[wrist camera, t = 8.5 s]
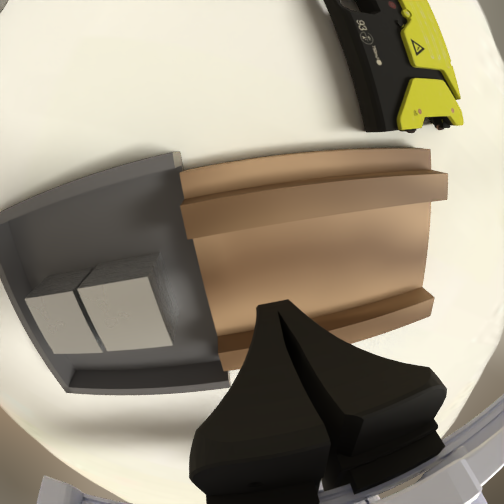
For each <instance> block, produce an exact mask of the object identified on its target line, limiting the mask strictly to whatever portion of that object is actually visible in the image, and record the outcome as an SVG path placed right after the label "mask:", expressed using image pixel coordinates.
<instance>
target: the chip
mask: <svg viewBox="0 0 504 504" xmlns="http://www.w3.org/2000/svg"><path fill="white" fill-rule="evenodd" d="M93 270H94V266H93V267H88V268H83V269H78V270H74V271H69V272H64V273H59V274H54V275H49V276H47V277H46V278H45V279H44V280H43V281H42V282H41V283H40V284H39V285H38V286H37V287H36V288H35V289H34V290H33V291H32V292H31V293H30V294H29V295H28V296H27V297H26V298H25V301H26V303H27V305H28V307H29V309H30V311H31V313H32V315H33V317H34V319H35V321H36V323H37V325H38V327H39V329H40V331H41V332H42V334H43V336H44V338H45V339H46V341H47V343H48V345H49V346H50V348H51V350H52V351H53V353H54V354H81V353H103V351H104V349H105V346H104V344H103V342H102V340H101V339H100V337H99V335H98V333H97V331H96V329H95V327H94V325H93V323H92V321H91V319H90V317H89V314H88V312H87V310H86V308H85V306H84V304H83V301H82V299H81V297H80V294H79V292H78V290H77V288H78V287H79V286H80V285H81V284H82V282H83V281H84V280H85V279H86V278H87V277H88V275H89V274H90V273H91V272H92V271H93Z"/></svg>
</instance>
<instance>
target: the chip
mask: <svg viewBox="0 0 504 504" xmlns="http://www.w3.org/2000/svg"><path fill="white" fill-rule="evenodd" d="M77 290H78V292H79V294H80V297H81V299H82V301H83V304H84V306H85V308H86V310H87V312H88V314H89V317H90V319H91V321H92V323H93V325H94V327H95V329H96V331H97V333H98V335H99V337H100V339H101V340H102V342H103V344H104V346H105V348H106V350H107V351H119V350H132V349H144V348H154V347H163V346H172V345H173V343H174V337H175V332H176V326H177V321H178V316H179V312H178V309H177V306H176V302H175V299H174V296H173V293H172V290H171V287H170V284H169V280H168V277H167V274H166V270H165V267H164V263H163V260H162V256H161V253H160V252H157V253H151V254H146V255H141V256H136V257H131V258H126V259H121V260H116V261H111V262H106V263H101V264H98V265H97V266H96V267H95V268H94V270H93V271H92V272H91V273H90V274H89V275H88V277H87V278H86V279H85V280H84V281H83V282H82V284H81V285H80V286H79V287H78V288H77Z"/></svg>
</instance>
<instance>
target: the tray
mask: <svg viewBox="0 0 504 504" xmlns="http://www.w3.org/2000/svg"><path fill="white" fill-rule="evenodd" d="M182 171H184V170H183V165H182V159H181V153H180V152H171V153H167V154H163V155H158V156H154V157H150V158H146V159H143V160H139V161H135V162H131V163H128V164H124V165H121V166H117V167H114V168H111V169H107V170H104V171H101V172H98V173H95V174H92V175H89V176H86V177H83V178H80V179H77V180H74V181H72V182H69V183H66V184H64V185H61V186H58V187H56V188H53V189H51V190H48V191H46V192H43V193H41V194H38V195H36V196H34V197H31V198H29V199H27V200H25V201H22V202H20V203H18V204H16V205H14V206H11V207H9V208H7V209H5V210H3V211H1V212H0V278H1V281H2V283H3V285H4V288H5V290H6V292H7V295H8V297H9V299H10V301H11V303H12V305H13V308H14V310H15V312H16V314H17V316H18V318H19V319H20V321H21V323H22V325H23V327H24V329H25V331H26V332H27V334H28V336H29V338H30V339H31V341H32V343H33V344H34V346H35V348H36V349H37V351H38V353H39V354H40V356H41V357H42V359H43V360H44V362H45V364H46V365H47V367H48V368H49V369H50V371H51V372H52V374H53V375H54V377H55V378H56V379H57V381H58V382H59V384H60V385H61V386H62V388H63V389H64V390H65V391H66V393H76V394H93V395H155V394H173V393H186V392H196V391H206V390H214V389H222V388H229V387H231V385H230V373H229V371H224V370H223V367H222V364H221V361H220V358H219V355H218V336H217V332H216V329H215V325H214V321H213V318H212V314H211V310H210V306H209V303H208V299H207V295H206V291H205V287H204V283H203V279H202V275H201V271H200V267H199V263H198V259H197V254H196V250H195V246H194V241H193V239H189V240H188V239H187V235H186V231H185V226H184V222H183V217H182V212H181V208H180V205H181V204H182V202H183V201H184V194H183V189H182V184H181V179H180V172H182ZM157 252H160V253H161V256H162V260H163V263H164V267H165V270H166V274H167V277H168V280H169V284H170V287H171V290H172V293H173V296H174V299H175V302H176V306H177V309H178V312H179V316H178V321H177V326H176V332H175V337H174V343H173V345H172V346H163V347H154V348H144V349H132V350H119V351H107V350H106V348H105V349H104V351H103V353H81V354H54V353H53V351H52V350H51V348H50V346H49V345H48V343H47V341H46V339H45V338H44V336H43V334H42V332H41V331H40V329H39V327H38V325H37V323H36V321H35V319H34V317H33V315H32V313H31V311H30V309H29V307H28V305H27V303H26V301H25V298H26V297H27V296H28V295H29V294H30V293H31V292H32V291H33V290H34V289H35V288H36V287H37V286H38V285H39V284H40V283H41V282H42V281H43V280H44V279H45V278H46V277H47V276H49V275H54V274H59V273H64V272H69V271H74V270H78V269H83V268H88V267H93V266H94V268H95V267H96V266H97V265H98V264H101V263H106V262H111V261H116V260H121V259H126V258H131V257H136V256H141V255H146V254H151V253H157Z"/></svg>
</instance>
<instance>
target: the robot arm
mask: <svg viewBox="0 0 504 504" xmlns="http://www.w3.org/2000/svg"><path fill="white" fill-rule="evenodd" d="M446 394H447V389H446V387H445V386H444V384H443V383H442V382H441V380H440V379H439V378H438V376H437V375H436V374H435V373H434V372H433V371H432V370H431V369H430V368H429V367H424V366H418V365H412V364H406V363H402V362H398V361H394V360H390V359H387V358H383V357H380V356H377V355H375V354H372V353H369V352H367V351H364V350H362V349H360V348H357V347H355V346H353V345H351V344H349V343H347V342H345V341H343V340H341V339H340V338H338V337H336V336H335V335H333V334H332V333H330V332H329V331H327V330H326V329H324V328H323V327H321V326H320V325H319V324H317V323H316V322H315V321H313V320H312V319H311V318H310V317H308V316H307V315H306V314H305V313H304V312H302V311H301V310H300V309H299V308H298V307H297V306H296V305H295V304H293V303H292V302H291V301H290V300H289V299H287V300H282V301H277V302H271V303H266V304H261V305H258V306H257V307H256V323H255V328H254V333H253V337H252V341H251V344H250V347H249V350H248V353H247V355H246V358H245V360H244V363H243V365H242V367H241V369H240V371H239V373H238V375H237V377H236V379H235V381H234V382H233V384H232V386H231V387H230V389H229V391H228V392H227V394H226V395H225V396H224V398H223V399H222V401H221V402H220V403H219V405H218V406H217V407H216V409H215V410H214V411H213V412H212V414H211V415H210V416H209V417H208V418H207V419H206V420H205V421H204V422H203V423H202V425H201V426H200V427H199V428H198V429H197V430H196V432H195V435H194V439H193V442H192V447H191V452H190V459H189V478H190V480H191V481H192V482H193V483H194V484H195V485H196V486H197V487H198V488H199V489H200V490H201V491H203V492H204V493H205V494H206V502H207V504H487V502H486V500H485V498H484V496H483V494H482V493H481V491H482V486H483V485H484V484H485V483H486V482H487V481H488V480H489V479H490V478H491V477H493V476H494V474H496V473H497V472H498V471H499V470H500V469H501V468H502V467H503V466H504V394H503V395H502V396H500V397H499V398H498V399H497V400H496V401H495V402H494V403H492V404H491V405H490V406H489V407H487V408H486V409H485V410H484V411H483V412H481V413H480V414H479V415H477V416H476V417H475V418H473V419H472V420H471V421H469V422H468V423H467V424H465V425H464V426H463V427H461V428H460V429H458V430H457V431H455V432H453V433H452V434H450V435H449V436H447V437H446V438H444V439H443V440H441V438H440V437H439V435H438V434H437V432H436V431H435V430H437V428H438V425H437V423H436V421H435V420H434V417H435V416H436V414H437V412H438V411H439V409H440V407H441V406H442V404H443V402H444V400H445V398H446ZM430 468H431V469H430ZM428 469H429V470H428ZM427 470H428V471H427ZM425 471H426V472H425ZM423 472H425V473H424V474H423V476H422V477H421V478H420V479H419V480H418V481H417V482H416V483H415V484H413V485H411V486H409V487H407V488H405V489H403V490H401V491H399V492H396V493H394V494H392V495H390V496H387V497H385V498H383V499H380V497H379V496H378V494H380V493H383V492H385V491H387V490H390V489H392V488H394V487H396V486H398V485H400V484H402V483H404V482H406V481H408V480H410V479H412V478H414V477H416V476H417V475H419V474H421V473H423ZM37 504H131V503H125V502H119V501H113V500H109V499H105V498H100V497H96V496H92V495H88V494H84V493H82V492H81V491H80V490H79V489H77V488H76V487H74V486H72V485H70V484H67V483H65V482H62V481H59V480H56V479H54V478H51V477H48V476H43V480H42V484H41V487H40V491H39V495H38V500H37Z"/></svg>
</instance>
